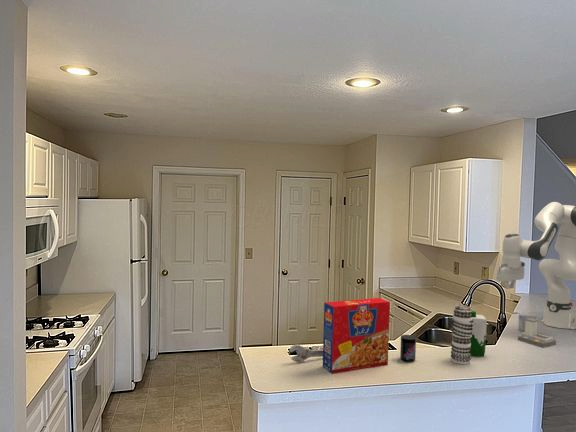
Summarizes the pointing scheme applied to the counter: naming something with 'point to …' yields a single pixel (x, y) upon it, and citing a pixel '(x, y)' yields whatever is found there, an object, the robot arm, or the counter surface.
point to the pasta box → (355, 334)
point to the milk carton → (478, 335)
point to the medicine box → (524, 321)
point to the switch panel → (537, 340)
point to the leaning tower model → (461, 334)
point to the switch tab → (531, 326)
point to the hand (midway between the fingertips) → (509, 288)
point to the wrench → (304, 353)
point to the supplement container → (408, 348)
